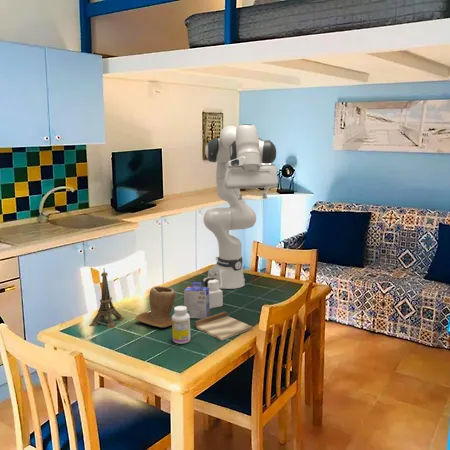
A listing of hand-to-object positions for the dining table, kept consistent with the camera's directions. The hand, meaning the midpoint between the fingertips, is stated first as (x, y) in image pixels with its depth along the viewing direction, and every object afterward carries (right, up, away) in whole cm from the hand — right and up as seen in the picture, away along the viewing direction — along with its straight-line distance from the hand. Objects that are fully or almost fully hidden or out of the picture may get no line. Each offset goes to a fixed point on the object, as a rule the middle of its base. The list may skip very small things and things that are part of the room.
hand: (252, 199), depth 187 cm
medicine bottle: (-16, -45, +36) cm, 60 cm away
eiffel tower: (-58, -50, +18) cm, 79 cm away
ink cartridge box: (-22, -48, +23) cm, 58 cm away
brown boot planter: (-37, -50, +17) cm, 64 cm away
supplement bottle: (-26, -53, 0) cm, 59 cm away
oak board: (-11, -50, +11) cm, 53 cm away
